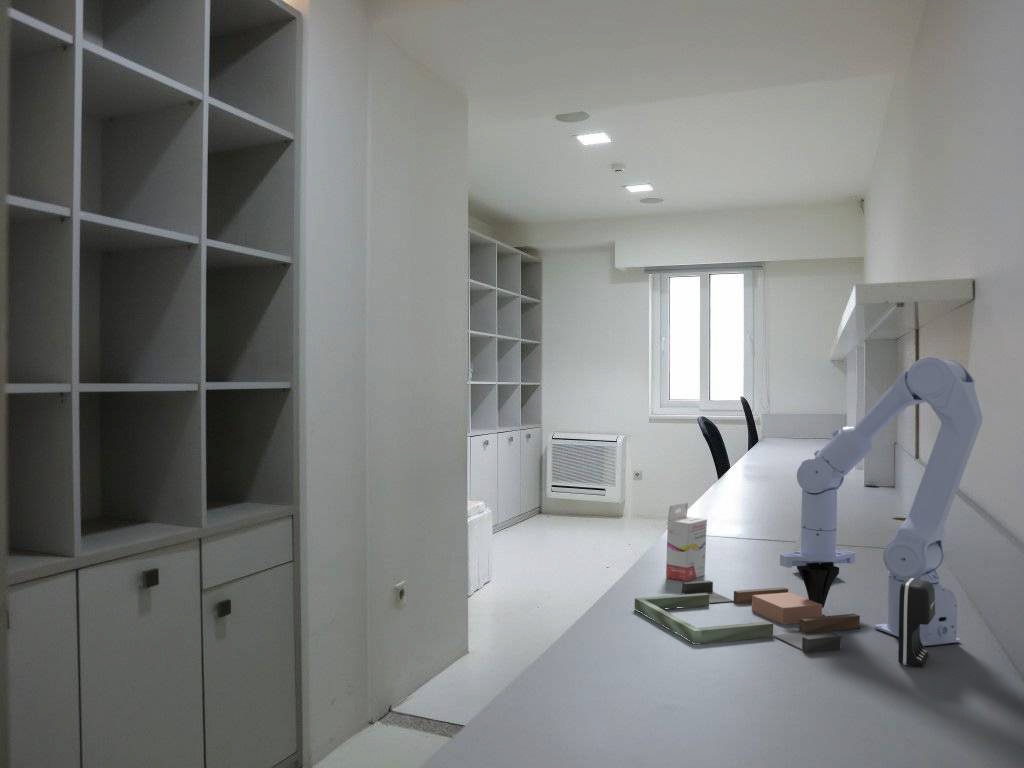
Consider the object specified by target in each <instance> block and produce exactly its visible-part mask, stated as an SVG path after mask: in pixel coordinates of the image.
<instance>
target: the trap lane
mask: <svg viewBox="0 0 1024 768" xmlns="http://www.w3.org/2000/svg"><path fill="white" fill-rule="evenodd" d="M787 592H789V588H787V587H784V586H783V587H768V588H756V589H740V590H733V599H730V598H728V597H726V596H723V595H722V594H719V593H716V592H715V591H714V581H711V580H698V581H687V582H686V581H682V582H681V594H674V595H673V594H672V595H671V594H670V595H660V596H648V597H635V598H634V609H636V610H638V611H640V612H642V613H643V614H645V615H647V616H648V617H650V618H652V619H654V620H655V621H657V622H659V623H660V624H662V625H664V626H665V627H667V628H669V629H670V630H672V631H674V632H677V633H678V634H680V635H682V636H683V637H685V638H687V639H688V640H690V641H691V642H693V643H704V644H711V643H710V642H714V643H722V642H723V641H724V642H732V641H733V642H734V641H742V640H744V641H745V640H753V639H762V638H763V639H764V638H775V639H777V640H779V641H782V642H784V643H785V644H788V645H789V646H792V647H794V648H796V649H798V650H800V651H803V652H804V653H806V654H813V653H820V652H821V653H822V652H830V651H831V652H832V651H840V650H841V647H842V635H839V634H837V633H828V634H819V635H818V634H817V635H811V634H813V633H822V632H823V633H824V632H832V631H841V630H854V629H860V625H861V624H860V622H861V620H860V618H861V616H860V615H858V614H856V613H845V614H835V615H825V616H823V615H822V617H812V618H801V619H800V621H799V624H798V625H799V627H798V628H799V632H795V633H782V634H774V623H772V622H770V621H759V622H747V623H738V624H737V623H736V624H728V625H726V624H725V625H724V624H723V625H715V626H705V627H704V626H703V627H696V626H695V625H692V624H691V623H688V622H687V621H684V620H683V619H681V618H680V617H678V616H676V615H674V614H672V613H671V612H668V611H666V610H663V609H665V608H677V607H691V608H701V607H700V606H703V607H709V606H710V605H713V604H726V603H734V604H738V605H739V604H750V603H751V604H752V595H761V594H774V593H787ZM683 593H684V594H683ZM698 606H699V607H698ZM636 610H635V611H636ZM643 614H642V615H643ZM648 617H647V618H648ZM655 621H654V622H655ZM660 624H659V625H660ZM662 625H661V626H662ZM665 627H664V628H665ZM667 628H666V629H667ZM670 630H669V631H670ZM672 631H671V632H672ZM674 632H673V633H674ZM691 642H690V643H691ZM693 643H692V644H693Z"/></svg>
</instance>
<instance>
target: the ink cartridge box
mask: <svg viewBox="0 0 1024 768" xmlns="http://www.w3.org/2000/svg"><path fill="white" fill-rule="evenodd" d="M688 507H689V503H688V502H684V503H683V502H682V503H677V504H672V505H670V506H669V508H668V509H669V510H668V518H667V525H666V526H667V533H666V534H667V535H666V566H665V569H666V571H665V578H667V579H673V580H677V581H682V582H691V581H692V580H695V579H697V578H700V577H704V576H705V575H706V553H707V550H706V548H707V527H708V526H707V524H708V519H707V518H701V517H692V516H688V515H687V514H688ZM677 510H680V511H679V512H676V511H677Z"/></svg>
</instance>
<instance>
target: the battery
mask: <svg viewBox="0 0 1024 768" xmlns="http://www.w3.org/2000/svg"><path fill="white" fill-rule="evenodd" d="M934 615H935V591H934V587H933V585H932V584H931V583H930V582H928V581H923V580H917V579H914V578H911V579H910V578H908V579H906V580H905V581H904V582H903V583H902V584H901V587H900V597H899V637H898V652H897V653H898V658H897V660H898V663H899V664H902V665H903V666H911V667H917V668H922V667H924V666H925V664H926V663H927V661H928V659H929V657H930V653H929V652H928V651H927V650H926V648H925V646H923V645H922V643H921V639H920V624H923V625H928V624H929V623H930V622H931V620H932V619H933V617H934Z"/></svg>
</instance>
